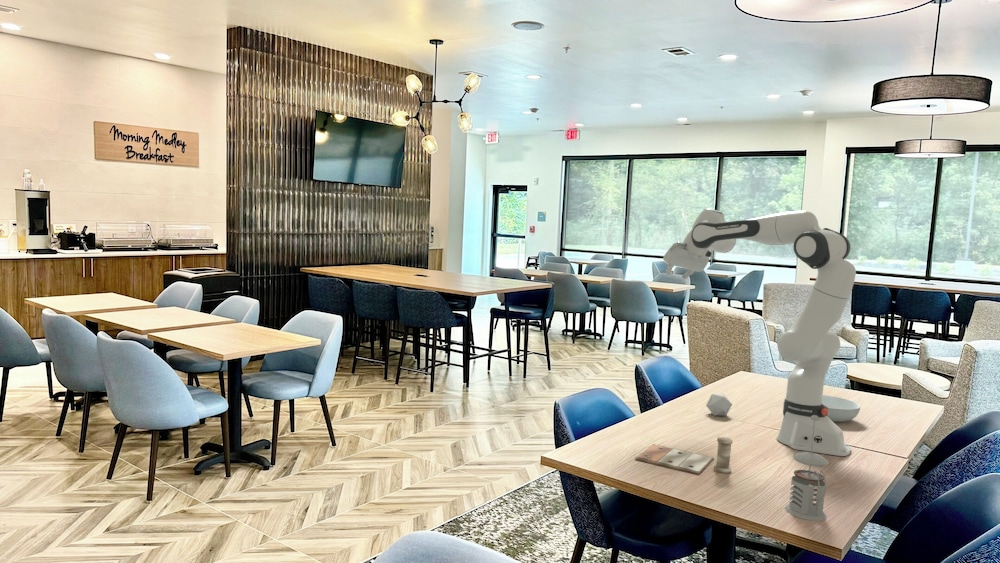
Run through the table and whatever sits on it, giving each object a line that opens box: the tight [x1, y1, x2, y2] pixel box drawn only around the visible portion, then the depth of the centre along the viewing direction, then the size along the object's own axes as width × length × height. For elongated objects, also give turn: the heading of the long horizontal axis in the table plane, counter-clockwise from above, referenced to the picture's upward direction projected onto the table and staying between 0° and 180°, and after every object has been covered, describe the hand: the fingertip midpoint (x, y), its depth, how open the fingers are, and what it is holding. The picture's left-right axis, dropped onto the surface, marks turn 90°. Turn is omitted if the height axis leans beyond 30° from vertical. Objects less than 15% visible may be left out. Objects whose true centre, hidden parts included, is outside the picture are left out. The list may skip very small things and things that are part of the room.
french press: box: [784, 415, 829, 522], centre depth 171 cm, size 10×12×25 cm
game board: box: [634, 444, 715, 476], centre depth 207 cm, size 19×17×1 cm
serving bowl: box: [822, 394, 861, 423], centre depth 266 cm, size 21×21×7 cm
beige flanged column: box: [712, 436, 733, 475], centre depth 200 cm, size 5×5×9 cm
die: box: [705, 393, 733, 417], centre depth 262 cm, size 8×9×10 cm
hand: (676, 276), depth 271 cm, fingers open, 8 cm apart
